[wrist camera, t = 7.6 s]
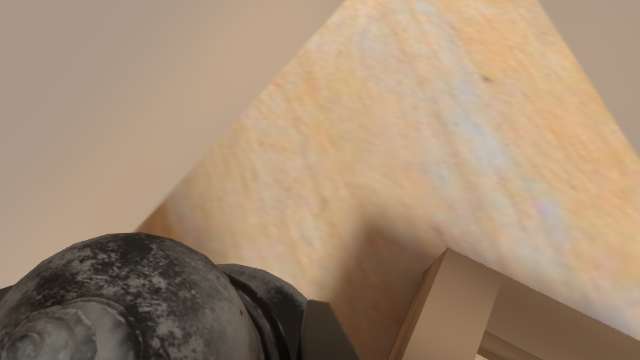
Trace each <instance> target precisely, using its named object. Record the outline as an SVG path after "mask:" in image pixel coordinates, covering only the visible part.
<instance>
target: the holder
mask: <svg viewBox="0 0 640 360" xmlns="http://www.w3.org/2000/svg"><path fill="white" fill-rule="evenodd" d="M476 354H479V355H481V356H483V357H485V358H487V359H489V360H640V341H639V340H637V339H635V338H633V337H630V336H628V335H626V334H624V333H622V332H620V331H618V330H616V329H614V328H612V327H610V326H608V325H606V324H604V323H602V322H600V321H598V320H596V319H594V318H591V317H589V316H587V315H585V314H583V313H581V312H579V311H577V310H575V309H573V308H571V307H569V306H567V305H565V304H563V303H561V302H559V301H557V300H555V299H552V298H550V297H548V296H546V295H544V294H542V293H540V292H538V291H536V290H534V289H532V288H530V287H528V286H526V285H524V284H522V283H520V282H518V281H516V280H514V279H511V278H509V277H507V276H505V275H503V274H501V273H499V272H497V271H495V270H493V269H491V268H489V267H487V266H485V265H483V264H481V263H479V262H477V261H475V260H472V259H470V258H468V257H466V256H464V255H462V254H460V253H458V252H456V251H454V250H452V249H450V248H447V249H446V250H445V251H444V252H443V253H442V254H441V255H440V256H439V257H438V258H437V259H436V260H435V261H434V262H433V263H432V264H431V266H430V267H429V268H428V269H427V270H426V271H425V272H424V275H423V277H422V280H421V282H420V284H419V287H418V289H417V291H416V294H415V296H414V298H413V301H412V303H411V306H410V308H409V310H408V313H407V315H406V317H405V320H404V322H403V324H402V327H401V329H400V331H399V334H398V336H397V339H396V341H395V343H394V346H393V348H392V350H391V353H390V355H389V357H388V360H474V359H475V356H476Z"/></svg>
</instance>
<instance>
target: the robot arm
mask: <svg viewBox="0 0 640 360" xmlns="http://www.w3.org/2000/svg"><path fill="white" fill-rule="evenodd" d="M12 286H14V285H12ZM12 286H9V287H6V288H3V289H0V301H1V300H2V299H3V298H4V296H5V295H6V294H7V293H8V291H9V290H10V289H11V288H12ZM296 360H362V359H361V358H360V356H359V354H358V352H357V351H356V349H355V347H354V345H353V344H352V342H351V340H350V338H349V337H348V335H347V333H346V331H345V330H344V328H343V326H342V324H341V323H340V321H339V319H338V317H337V316H336V314H335V312H334V310H333V308H332V307H331V305H330V304H329V303H328V302H323V301H317V300H311V299H310V300H308V301H307V302H306V305H305V310H304V315H303V320H302V325H301V330H300V335H299V342H298V348H297V354H296Z"/></svg>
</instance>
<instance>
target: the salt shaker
mask: <svg viewBox="0 0 640 360" xmlns="http://www.w3.org/2000/svg"><path fill="white" fill-rule="evenodd" d="M307 301H308V299H307V298H306V297H304V296H303V295H302V294H301V293H300V292H299V291H298V290H297V289H296V288H295V287H294V286H292V285H291V284H290V283H288V282H286V281H284V280H282V279H280V278H278V277H276V276H275V275H273V274H271V273H269V272H267V271H265V270H262V269H257V268H252V267H248V266H243V265H238V264H217V265H215V264H214V263H213V262H212V261H211V260H210V259H209V258H208V257H207V256H205V255H203V254H201V253H199V252H198V251H196V250H194V249H192V248H190V247H188V246H186V245H184V244H182V243H180V242H178V241H175V240H173V239H169V238H165V237H160V236H155V235H150V234H146V233H141V232H139V233H120V234H119V233H118V234H106V235H103V236H99V237H96V238H92V239H89V240H86V241H82V242H79V243H75V244H73V245H71V246H70V247H68V248H66V249H64V250H62V251H60V252H58V253H57V254H55V255H53V256H51V257H49V258H48V259H46V260H44V261H42V262H41V263H40V264H38V265H37V266H36V267H35V268H34V269H33V270H31V271H30V272H29V273H28V274H27V275H25V276H24V277H23V278H22V279H21V280H20V281H18V282H17V283H16V284H15V285H14V286H12V288H11V289H10V290H9V291H8V293H7V294H6V295H5V296H4V298H3V299H2V300H1V301H0V360H296V354H297V348H298V342H299V335H300V330H301V325H302V320H303V315H304V310H305V305H306V302H307Z"/></svg>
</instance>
